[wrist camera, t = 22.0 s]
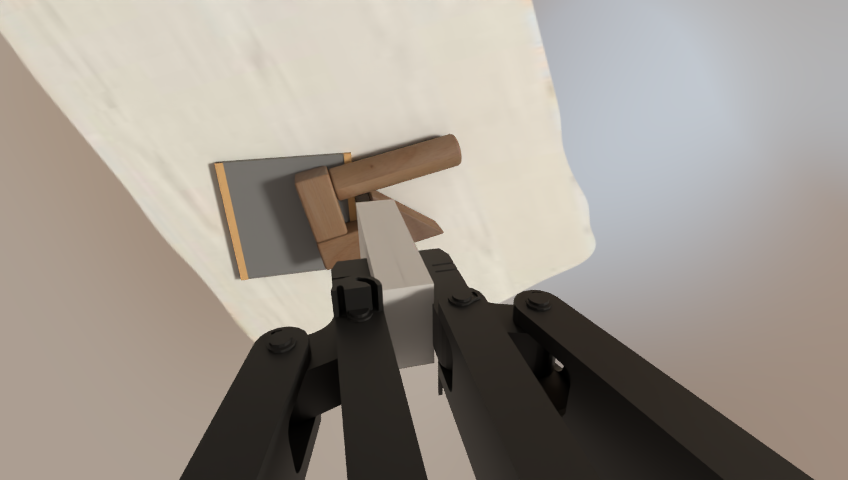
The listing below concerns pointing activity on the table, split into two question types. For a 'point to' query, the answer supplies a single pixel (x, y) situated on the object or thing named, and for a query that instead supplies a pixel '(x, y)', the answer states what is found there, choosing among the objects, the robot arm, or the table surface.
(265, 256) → the mat
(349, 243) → the wooden block assembly
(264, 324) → the table surface
